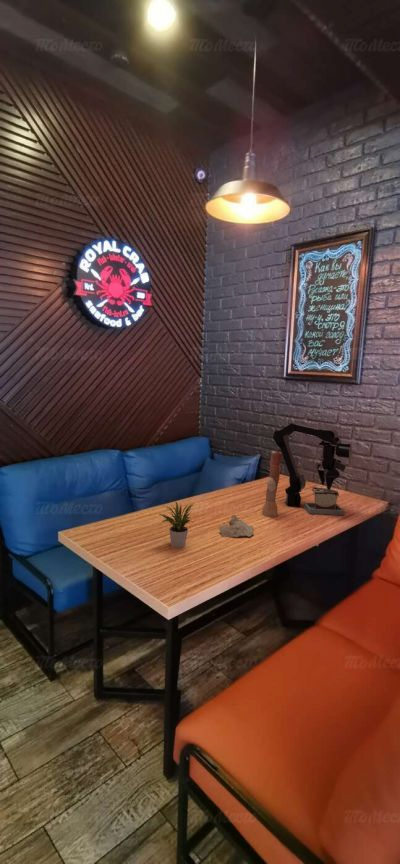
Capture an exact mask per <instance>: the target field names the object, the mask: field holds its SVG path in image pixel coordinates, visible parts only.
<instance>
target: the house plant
mask: <svg viewBox="0 0 400 864" xmlns="http://www.w3.org/2000/svg"><path fill="white" fill-rule="evenodd" d="M174 502H175V507H174V505H171V504H170V505H171V507H172V508H173V509H172V508H171V507H169V506H167V505H164V504H162V506H164V508H166V509H168V510H169V511H170V512H169V511H168V510H166V509H165V511H167V512H169V514H170V515H171V516H168V515H166V514H163V513H158V514H159V516H162V518H165V519H163V520H162V521H161V522H160V523H165V522H169V523H170V525H172V526H170V527H169V528H168V529H169V539H170V545H171V547H173V548H178V549H179V548H183V547H185V545H186V542H187V538H188V534H189V533H188V532H189V528H188V527H186V524H188V523H193V524H194V521H191V519H192V517H190V516H189V515H191V513H192V512H193V510H191V509H192V508H193V505H195V504H196V503H193V502H192V503H191V504H188V505H186V506H185V507H184V508H183V510H182V504H180V505H179V504H178V502H177V501H176V500H175V501H174Z"/></svg>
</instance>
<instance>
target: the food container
mask: <svg viewBox="0 0 400 864" xmlns="http://www.w3.org/2000/svg"><path fill="white" fill-rule="evenodd" d="M312 494H313V496H314V503H315V509H328V510H335V507H336V504H337V500H338V497H340V493H339V491H337V490H335V489H332V488H330V490H328V489H327V488H322V487H321V488H315V489H314V491H313V493H312Z"/></svg>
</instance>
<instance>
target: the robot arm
mask: <svg viewBox="0 0 400 864" xmlns="http://www.w3.org/2000/svg"><path fill="white" fill-rule="evenodd" d="M295 432H296V433H301V434H304V435H309V436H312V437H313V436H314V437H317V438H318V439H320V440H321V442H320V443H318V446H322V452H321V453H322V455H320V460H321V462H317V463H316V464H315V467H314V468H315V469H316V473H317V475H318V477H319V480H320V484H321V485H325V486H326V489H328V490H330V489H332V486H333V483H334V481H335V480H336V479H338V478H340V476H341V472H344V471H345V470H346V467H347V465H346V464H345V463H342V460H340V459H337V458H336V457H335V456H337V457H338V458H344V459H345V458H346V459H351V457H352V455H353V449H352V443H349V442H348V443H345V442H343V441H341V439H340V438H339V436H338V431H337V430H336V429H335V428H318V427H314V426H310V425H306V424H301V423H297V422H294V421H293V422H291V423H289V424H288V425H286V426H285V427H283V428H281V429H277V430H276V431H273V433H272V438H273V440H274V443H275V444H276V445H277V447H278V448H279V449H280V452H281V456H282V458H283V460H284V464H285V466H286V469H287V472H288V475H289V479H288V483H289V486H288V487H287V488H285V490H284V491H285V494H286V496H285V498H286V499H285V501H284V503H285V505H286V506H287V507H301V502H302V496H301V492H302V490H304V489H305V487H306V486H307V485H306V483H307V480H306V479H305V475H304V474H301V473H300V472H299V471H298V467H297V465H296V462H295V459H294V457H293V453H292V451H291V447H290V435H292V434H293V433H295ZM339 470H340V471H341V472H340V471H339Z"/></svg>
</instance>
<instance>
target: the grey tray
mask: <svg viewBox="0 0 400 864" xmlns="http://www.w3.org/2000/svg"><path fill="white" fill-rule="evenodd" d="M303 508H304V509H305V511H306V512H307V513H308V515H317V516H319V515H320V516H343V517H344V516H345V510H344V509H343V508H342V507H341V506H340V505H339V504H338V503H336V507H335V510H328V509H315V502H303Z"/></svg>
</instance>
